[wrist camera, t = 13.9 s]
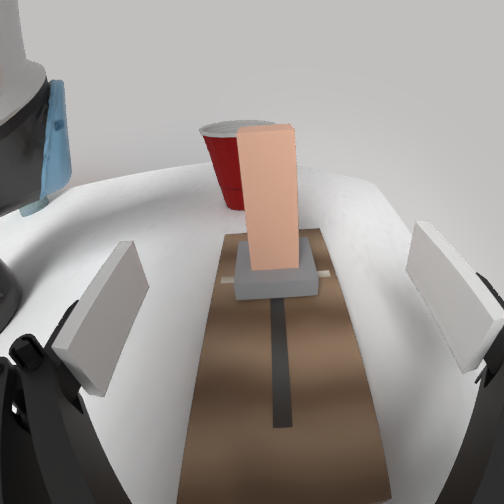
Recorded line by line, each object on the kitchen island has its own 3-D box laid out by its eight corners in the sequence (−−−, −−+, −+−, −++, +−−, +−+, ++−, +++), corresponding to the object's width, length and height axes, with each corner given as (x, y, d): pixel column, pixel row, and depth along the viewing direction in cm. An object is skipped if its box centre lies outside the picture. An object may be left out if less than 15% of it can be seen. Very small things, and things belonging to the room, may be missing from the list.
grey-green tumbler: (13, 220, 55) (-1, 177, 49) (34, 203, 64) (23, 164, 58) (36, 214, 55) (22, 168, 48) (58, 197, 63) (46, 155, 57)
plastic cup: (249, 226, 37) (239, 130, 30) (195, 209, 43) (182, 131, 37) (297, 198, 43) (293, 118, 37) (244, 186, 50) (237, 118, 43)
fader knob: (317, 295, 21) (320, 132, 15) (236, 300, 21) (211, 140, 15) (307, 251, 26) (304, 120, 20) (240, 255, 27) (224, 126, 20)
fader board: (380, 503, 9) (391, 498, 8) (187, 513, 10) (175, 508, 9) (319, 244, 31) (319, 228, 30) (227, 250, 32) (225, 234, 31)
